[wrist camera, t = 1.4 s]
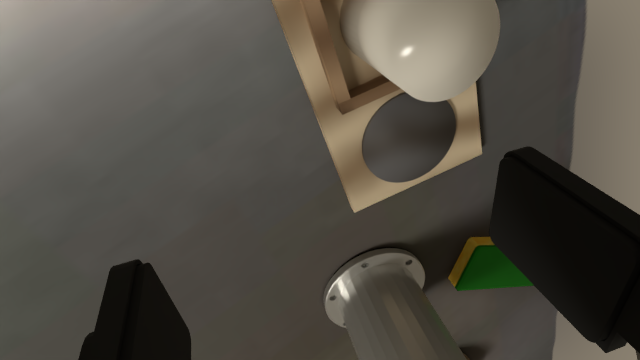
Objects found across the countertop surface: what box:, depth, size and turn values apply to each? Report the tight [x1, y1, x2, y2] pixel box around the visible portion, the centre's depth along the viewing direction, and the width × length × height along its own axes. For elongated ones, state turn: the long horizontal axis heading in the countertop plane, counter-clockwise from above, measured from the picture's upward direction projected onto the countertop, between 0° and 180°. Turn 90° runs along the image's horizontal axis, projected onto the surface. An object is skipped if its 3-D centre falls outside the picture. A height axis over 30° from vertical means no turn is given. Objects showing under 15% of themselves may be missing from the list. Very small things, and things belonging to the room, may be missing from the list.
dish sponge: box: [448, 237, 534, 291], centre depth 49 cm, size 7×14×2 cm, turn 78°
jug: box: [340, 0, 500, 102], centre depth 23 cm, size 9×6×9 cm
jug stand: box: [271, 0, 482, 213], centre depth 31 cm, size 22×14×2 cm, turn 20°
